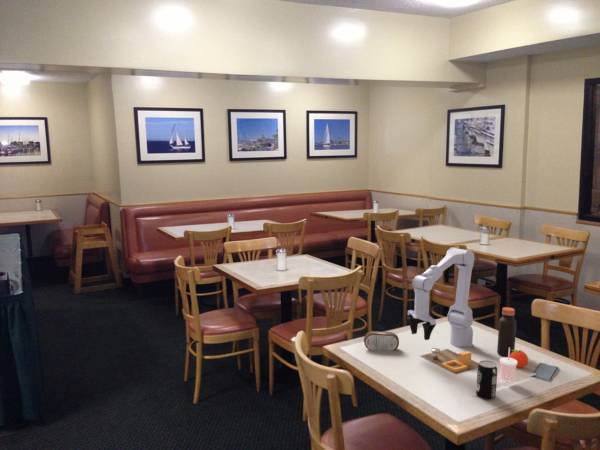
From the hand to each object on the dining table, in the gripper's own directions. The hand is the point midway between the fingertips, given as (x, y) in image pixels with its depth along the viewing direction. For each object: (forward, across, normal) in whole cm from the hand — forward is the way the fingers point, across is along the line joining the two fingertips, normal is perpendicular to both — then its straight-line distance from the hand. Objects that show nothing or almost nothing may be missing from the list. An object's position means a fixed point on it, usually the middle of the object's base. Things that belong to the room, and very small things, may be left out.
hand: (420, 336), depth 216 cm
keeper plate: (+10, +9, +9) cm, 16 cm away
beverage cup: (+10, +33, +13) cm, 37 cm away
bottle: (+10, +14, +36) cm, 40 cm away
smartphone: (+10, +34, +34) cm, 49 cm away
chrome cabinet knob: (+9, +4, +5) cm, 11 cm away
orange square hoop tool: (+9, +15, +7) cm, 19 cm away
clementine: (+10, +25, +29) cm, 39 cm away
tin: (+10, -15, -8) cm, 20 cm away
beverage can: (+10, +36, -2) cm, 38 cm away
